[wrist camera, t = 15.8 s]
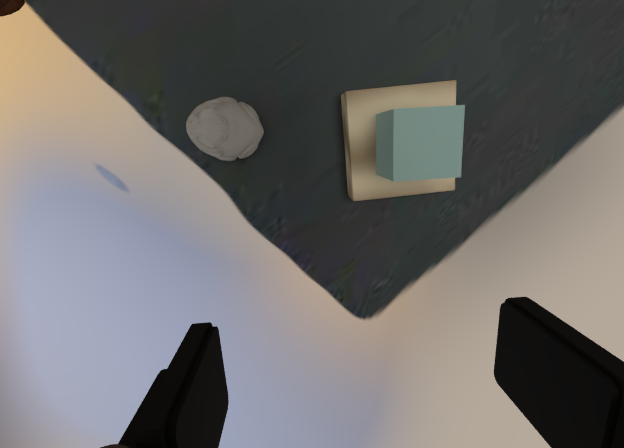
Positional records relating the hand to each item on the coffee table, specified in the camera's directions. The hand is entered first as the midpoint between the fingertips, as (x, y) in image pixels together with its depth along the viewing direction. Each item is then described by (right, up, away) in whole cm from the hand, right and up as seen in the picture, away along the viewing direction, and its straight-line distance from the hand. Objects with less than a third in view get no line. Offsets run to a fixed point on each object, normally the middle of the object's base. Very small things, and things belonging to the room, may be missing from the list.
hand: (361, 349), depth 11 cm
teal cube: (+8, +12, +23) cm, 27 cm away
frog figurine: (-10, +14, +25) cm, 31 cm away
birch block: (+7, +13, +27) cm, 31 cm away
